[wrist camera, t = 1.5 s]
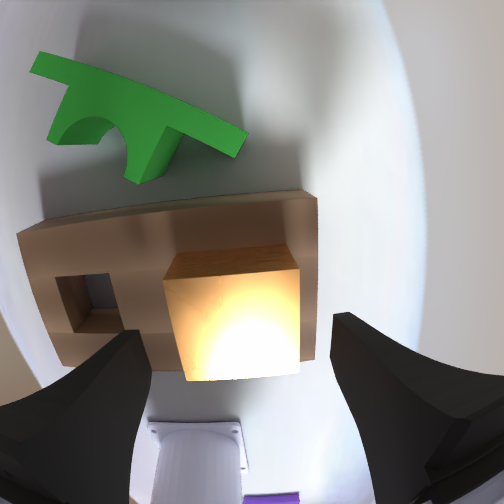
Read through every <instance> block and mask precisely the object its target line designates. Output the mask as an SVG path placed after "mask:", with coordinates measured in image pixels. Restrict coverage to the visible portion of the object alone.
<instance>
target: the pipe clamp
mask: <svg viewBox="0 0 504 504" xmlns="http://www.w3.org/2000/svg"><path fill="white" fill-rule="evenodd" d="M30 72H31V73H34V74H37V75H40V76H43V77H46V78H49V79H52V80H55V81H58V82H61V83H64V84H66V85H69V87H68V89H67V91H66V93H65V95H64V98H63V100H62V102H61V104H60V107H59V109H58V111H57V114H56V116H55V118H54V121H53V123H52V126H51V129H50V131H49V134H48V137H47V139H46V140H48V141H50V142H52V143H54V144H56V145H80V144H98V143H99V141H100V139H101V138H102V136H103V135H104V134H105V133H106V132H107V131H108V130H109V129H111V128H113V127H115V126H116V127H117V128H118V129H119V130H120V132H121V134H122V135H123V138H124V140H125V143H126V148H127V165H126V170H125V173H124V176H123V177H124V178H126V179H128V180H130V181H132V182H134V183H136V184H138V185H139V184H142V183H144V182H147V181H150V180H153V179H155V178H158V177H161V176H163V175H164V173H165V171H166V169H167V167H168V165H169V163H170V161H171V159H172V157H173V155H174V153H175V151H176V149H177V147H178V145H179V143H180V141H181V139H182V137H183V135H184V134H186V135H188V136H191V137H193V138H195V139H197V140H199V141H201V142H203V143H205V144H207V145H209V146H211V147H213V148H215V149H217V150H219V151H221V152H223V153H225V154H227V155H229V156H231V157H233V158H235V157H236V155H237V153H238V151H239V150H240V148H241V146H242V144H243V142H244V141H245V139H246V137H247V135H248V134H249V133H247V132H245V131H243V130H241V129H240V128H238V127H236V126H234V125H232V124H230V123H228V122H226V121H224V120H222V119H220V118H218V117H215V116H213V115H211V114H209V113H207V112H205V111H203V110H201V109H199V108H196V107H194V106H192V105H190V104H188V103H185V102H183V101H181V100H179V99H176V98H174V97H172V96H169V95H167V94H165V93H162V92H160V91H157V90H155V89H153V88H150V87H148V86H145V85H143V84H140V83H137V82H135V81H132V80H130V79H127V78H124V77H121V76H119V75H116V74H113V73H110V72H107V71H105V70H102V69H99V68H96V67H93V66H90V65H86V64H83V63H80V62H77V61H73V60H70V59H67V58H63V57H60V56H56V55H52V54H49V53H45V52H41V51H40V52H39V54H38V56H37V58H36V60H35V62H34V64H33V66H32V68H31V70H30Z"/></svg>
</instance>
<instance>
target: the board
mask: <svg viewBox="0 0 504 504" xmlns="http://www.w3.org/2000/svg"><path fill="white" fill-rule="evenodd" d="M17 239H18V243H19V247H20V251H21V255H22V259H23V262H24V266H25V269H26V273H27V276H28V279H29V283H30V286H31V289H32V292H33V295H34V298H35V301H36V303H37V306H38V309H39V312H40V314H41V317H42V320H43V322H44V325H45V327H46V330H47V332H48V334H49V337H50V339H51V341H52V344H53V346H54V348H55V350H56V353H57V355H58V357H59V359H60V361H61V363H62V365H63V366H68V367H78V366H79V365H80V364H82V363H83V362H84V361H86V360H87V359H88V358H90V357H91V356H92V355H93V354H95V353H96V352H97V351H98V350H99V349H101V348H102V347H103V346H104V345H105V344H107V343H108V342H109V341H110V340H112V339H113V338H114V337H115V336H117V335H118V334H119V333H121V332H122V331H123V330H134V329H139V331H140V334H141V337H142V341H143V344H144V347H145V350H146V353H147V356H148V359H149V362H150V365H151V368H152V371H184V370H183V366H182V362H181V359H180V355H179V351H178V347H177V343H176V339H175V335H174V331H173V327H172V323H171V319H170V314H169V310H168V305H167V301H166V296H165V291H164V287H163V282H162V280H163V278H164V276H165V274H166V272H167V270H168V269H169V267H170V265H171V263H172V261H173V259H174V257H175V256H176V254H177V253H186V252H197V251H208V250H220V249H231V248H243V247H254V246H266V245H278V244H286V245H287V246H288V248H289V250H290V252H291V254H292V256H293V257H294V259H295V261H296V263H297V265H298V267H299V269H300V342H299V362H302V361H309V360H315V344H316V323H317V292H318V205H317V198H316V197H314V196H313V195H311V194H309V193H308V192H306V191H304V190H289V191H273V192H259V193H246V194H234V195H223V196H213V197H203V198H193V199H184V200H175V201H167V202H159V203H151V204H143V205H136V206H129V207H122V208H115V209H108V210H102V211H96V212H90V213H84V214H78V215H72V216H66V217H61V218H55V219H50V220H45V221H42V222H40V223H38V224H35V225H33V226H31V227H29V228H27V229H25V230H23V231H21V232H19V233H17ZM102 273H109V276H110V279H111V283H112V287H113V291H114V295H115V298H116V302H117V305H118V308H105V309H93V308H92V305H91V302H90V299H89V296H88V292H87V289H86V285H85V282H84V278H83V275H88V274H102Z"/></svg>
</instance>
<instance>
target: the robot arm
mask: <svg viewBox="0 0 504 504" xmlns="http://www.w3.org/2000/svg"><path fill="white" fill-rule="evenodd" d="M330 359H331V363H332V367H333V370H334V373H335V377H336V380H337V382H338V384H339V386H340V389H341V391H342V393H343V395H344V398H345V400H346V402H347V404H348V406H349V409H350V411H351V413H352V415H353V418H354V420H355V422H356V425H357V427H358V430H359V433H360V436H361V440H362V443H363V447H364V450H365V454H366V458H367V462H368V466H369V470H370V475H371V479H372V484H373V489H374V495H375V501H376V504H504V376H501V375H491V374H483V373H478V372H473V371H468V370H464V369H460V368H456V367H453V366H450V365H447V364H444V363H441V362H438V361H435V360H433V359H430V358H428V357H426V356H423V355H421V354H419V353H417V352H415V351H413V350H411V349H409V348H407V347H405V346H403V345H401V344H399V343H398V342H396V341H394V340H392V339H391V338H389V337H387V336H386V335H384V334H383V333H381V332H379V331H378V330H376V329H375V328H373V327H372V326H370V325H369V324H367V323H366V322H364V321H363V320H361V319H360V318H358V317H357V316H355V315H353V314H352V313H350V312H344V313H337V314H333V326H332V338H331V349H330ZM151 376H152V368H151V365H150V362H149V359H148V356H147V353H146V350H145V347H144V344H143V341H142V337H141V334H140V331H139V329H134V330H123V331H122V332H121V333H119V334H118V335H117V336H115V337H114V338H113V339H112V340H110V341H109V342H108V343H107V344H105V345H104V346H103V347H102V348H101V349H99V350H98V351H97V352H96V353H95V354H93V355H92V356H91V357H90V358H88V359H87V360H86V361H84V362H83V363H82V364H80V365H79V366H78V367H76V368H75V369H74V370H72V371H71V372H70V373H68V374H67V375H65V376H64V377H62V378H61V379H59V380H57V381H56V382H54V383H53V384H51V385H49V386H47V387H45V388H43V389H42V390H39V391H37V392H35V393H33V394H31V395H29V396H27V397H25V398H22V399H20V400H17V401H15V402H12V403H9V404H6V405H3V406H0V504H129V486H130V473H131V463H132V455H133V448H134V443H135V439H136V435H137V431H138V428H139V424H140V421H141V418H142V414H143V411H144V408H145V404H146V401H147V398H148V394H149V389H150V383H151ZM147 428H148V430H149V432H150V434H151V436H152V438H153V439H154V441H155V443H156V445H157V447H158V448H159V450H160V451H159V456H158V462H157V467H156V473H155V479H154V485H153V491H152V497H151V503H150V504H242V486H241V475H242V474H248V473H249V468H248V463H247V458H246V453H245V447H244V442H243V436H242V431H241V425H240V424H239V423H238V422H219V423H165V422H149V423H148V424H147Z"/></svg>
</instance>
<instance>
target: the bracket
mask: <svg viewBox="0 0 504 504" xmlns="http://www.w3.org/2000/svg"><path fill="white" fill-rule="evenodd" d="M299 502H300V500H299V494H290V495H277V496H256V497H244V504H299Z"/></svg>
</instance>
